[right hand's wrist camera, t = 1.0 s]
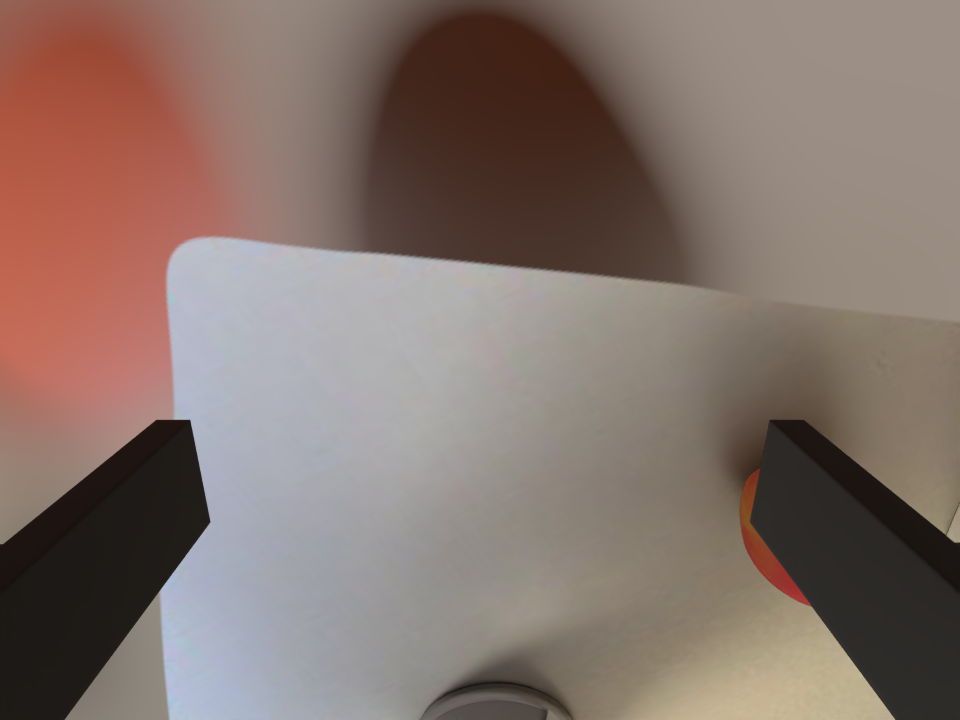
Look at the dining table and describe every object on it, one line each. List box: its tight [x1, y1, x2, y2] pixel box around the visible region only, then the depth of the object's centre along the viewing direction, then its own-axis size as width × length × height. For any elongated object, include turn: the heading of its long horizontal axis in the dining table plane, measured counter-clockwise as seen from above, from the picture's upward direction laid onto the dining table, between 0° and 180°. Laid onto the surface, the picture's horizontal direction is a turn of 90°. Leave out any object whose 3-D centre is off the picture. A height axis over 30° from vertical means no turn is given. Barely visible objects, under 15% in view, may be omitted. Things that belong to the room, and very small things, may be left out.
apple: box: [740, 468, 811, 606], centre depth 37 cm, size 10×10×10 cm
